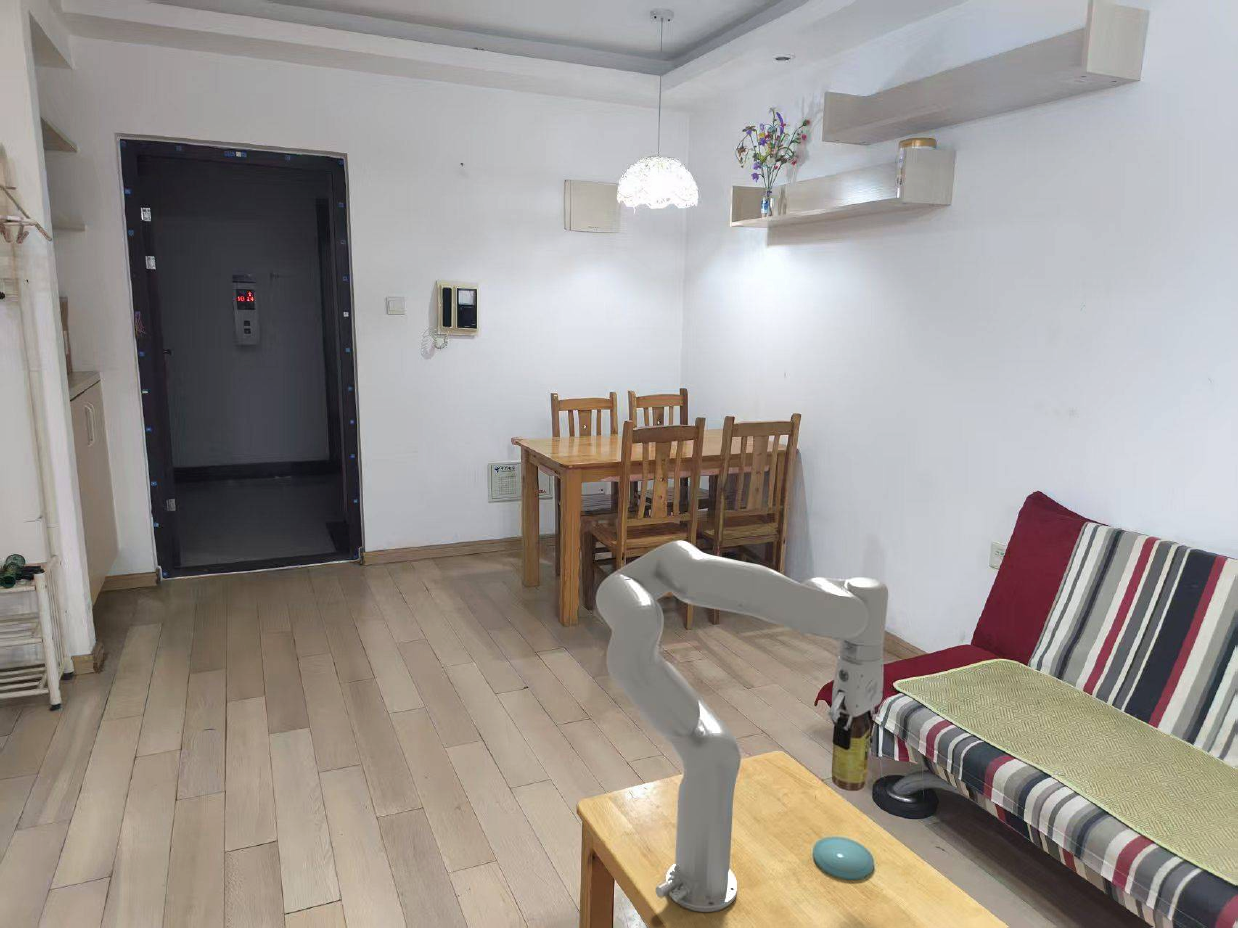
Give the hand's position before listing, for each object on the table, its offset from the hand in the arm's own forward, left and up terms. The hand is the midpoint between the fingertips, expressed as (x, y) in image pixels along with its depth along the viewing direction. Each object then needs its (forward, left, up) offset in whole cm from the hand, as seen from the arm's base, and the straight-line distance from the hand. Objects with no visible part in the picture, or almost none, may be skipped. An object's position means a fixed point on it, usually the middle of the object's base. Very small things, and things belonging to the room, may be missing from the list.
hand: (851, 739), depth 147 cm
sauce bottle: (0, 0, -9) cm, 9 cm away
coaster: (0, 0, -24) cm, 24 cm away
